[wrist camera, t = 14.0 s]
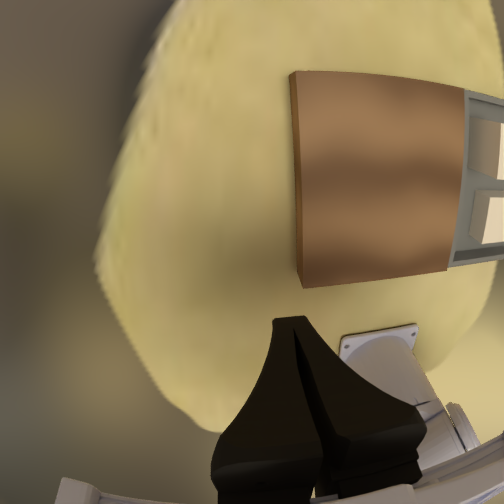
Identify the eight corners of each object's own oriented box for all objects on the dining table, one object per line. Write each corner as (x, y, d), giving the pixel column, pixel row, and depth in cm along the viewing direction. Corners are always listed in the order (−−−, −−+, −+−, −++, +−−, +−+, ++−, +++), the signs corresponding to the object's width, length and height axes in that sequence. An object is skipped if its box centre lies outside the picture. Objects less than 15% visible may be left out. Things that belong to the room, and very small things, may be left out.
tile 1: (464, 165, 20) (481, 167, 20) (497, 179, 16) (513, 180, 16) (467, 116, 18) (483, 119, 18) (500, 122, 14) (517, 126, 14)
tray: (516, 246, 24) (528, 254, 22) (435, 256, 24) (447, 267, 22) (532, 111, 17) (547, 114, 16) (448, 88, 17) (463, 89, 16)
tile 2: (481, 243, 20) (468, 234, 22) (509, 240, 20) (496, 231, 22) (490, 197, 19) (475, 189, 21) (518, 197, 19) (503, 190, 21)
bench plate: (432, 257, 24) (446, 270, 21) (297, 271, 23) (303, 288, 21) (445, 88, 17) (464, 88, 15) (288, 75, 17) (295, 70, 15)
